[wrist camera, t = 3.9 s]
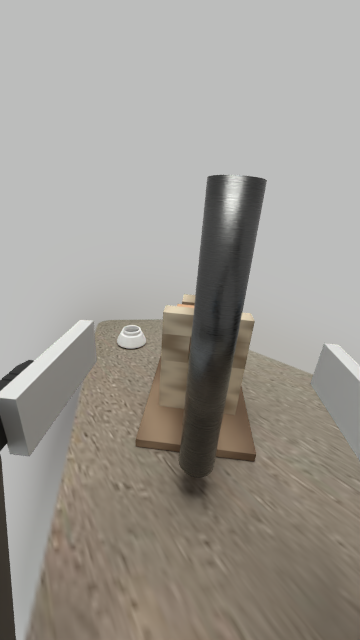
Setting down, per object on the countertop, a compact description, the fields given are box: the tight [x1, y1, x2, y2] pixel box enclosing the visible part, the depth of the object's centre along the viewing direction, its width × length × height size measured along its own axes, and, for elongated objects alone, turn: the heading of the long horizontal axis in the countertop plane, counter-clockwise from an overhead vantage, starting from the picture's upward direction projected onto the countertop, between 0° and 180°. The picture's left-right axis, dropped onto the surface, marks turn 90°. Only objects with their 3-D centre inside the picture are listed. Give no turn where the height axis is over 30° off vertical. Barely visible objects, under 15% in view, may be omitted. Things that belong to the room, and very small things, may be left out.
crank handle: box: [179, 175, 267, 477], centre depth 24 cm, size 3×18×21 cm, turn 175°
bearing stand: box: [136, 294, 256, 461], centre depth 30 cm, size 12×16×13 cm
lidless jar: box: [117, 325, 146, 349], centre depth 44 cm, size 5×3×5 cm
